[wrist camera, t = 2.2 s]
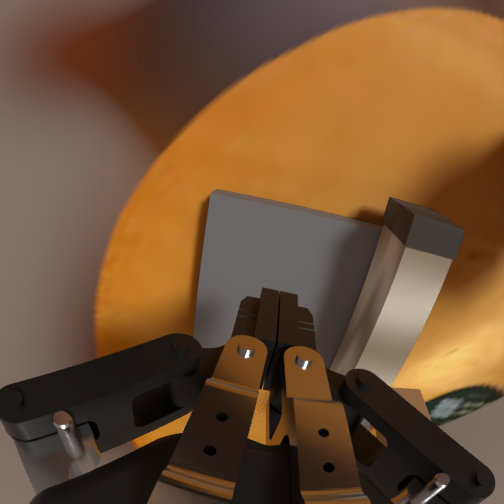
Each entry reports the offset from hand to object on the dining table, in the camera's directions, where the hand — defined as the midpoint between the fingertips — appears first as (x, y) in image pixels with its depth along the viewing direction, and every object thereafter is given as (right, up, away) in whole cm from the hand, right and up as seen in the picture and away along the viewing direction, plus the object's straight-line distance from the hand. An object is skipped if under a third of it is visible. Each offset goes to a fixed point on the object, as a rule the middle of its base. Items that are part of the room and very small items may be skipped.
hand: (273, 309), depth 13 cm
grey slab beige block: (+6, -3, +9) cm, 11 cm away
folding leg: (+7, -2, +7) cm, 10 cm away
